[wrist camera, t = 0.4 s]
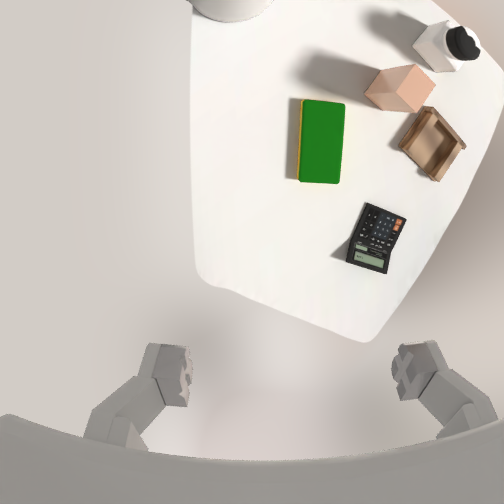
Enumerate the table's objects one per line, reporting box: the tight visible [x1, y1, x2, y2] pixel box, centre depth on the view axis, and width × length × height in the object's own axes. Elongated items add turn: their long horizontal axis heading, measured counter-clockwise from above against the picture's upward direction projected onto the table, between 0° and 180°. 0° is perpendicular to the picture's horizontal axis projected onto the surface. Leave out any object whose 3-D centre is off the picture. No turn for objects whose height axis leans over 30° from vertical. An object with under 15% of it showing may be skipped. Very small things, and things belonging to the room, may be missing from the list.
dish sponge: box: [297, 100, 345, 184], centre depth 51 cm, size 7×14×2 cm, turn 178°
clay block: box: [364, 64, 435, 113], centre depth 42 cm, size 6×4×12 cm
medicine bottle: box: [412, 20, 480, 73], centre depth 38 cm, size 7×7×12 cm
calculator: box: [346, 203, 407, 274], centre depth 58 cm, size 9×12×3 cm
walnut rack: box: [398, 106, 466, 182], centre depth 50 cm, size 10×11×3 cm
